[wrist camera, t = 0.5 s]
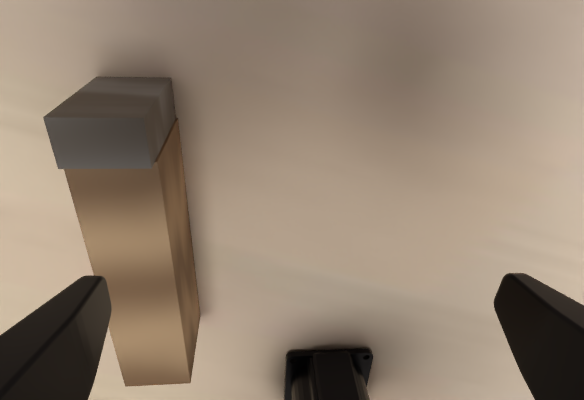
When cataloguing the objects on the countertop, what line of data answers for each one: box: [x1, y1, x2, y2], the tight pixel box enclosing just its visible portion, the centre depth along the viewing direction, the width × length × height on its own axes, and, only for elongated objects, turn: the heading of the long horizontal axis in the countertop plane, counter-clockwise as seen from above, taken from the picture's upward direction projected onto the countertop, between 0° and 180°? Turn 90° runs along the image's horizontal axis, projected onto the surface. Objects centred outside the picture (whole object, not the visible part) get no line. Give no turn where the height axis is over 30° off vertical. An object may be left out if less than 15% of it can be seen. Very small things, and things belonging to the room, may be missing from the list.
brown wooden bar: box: [43, 77, 200, 386], centre depth 21 cm, size 16×4×6 cm, turn 178°
